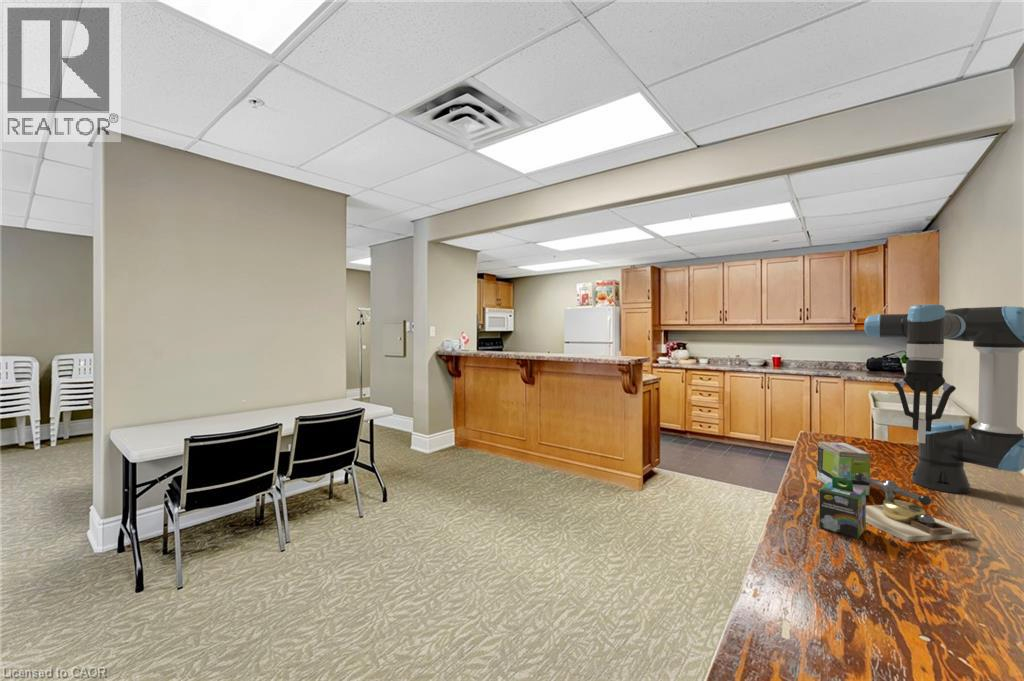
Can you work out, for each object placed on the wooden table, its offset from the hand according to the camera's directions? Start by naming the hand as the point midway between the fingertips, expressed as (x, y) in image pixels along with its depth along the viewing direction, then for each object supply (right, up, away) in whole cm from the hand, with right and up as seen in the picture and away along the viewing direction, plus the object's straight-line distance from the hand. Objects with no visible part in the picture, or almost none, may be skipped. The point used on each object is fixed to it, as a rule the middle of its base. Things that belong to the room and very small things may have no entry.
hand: (921, 442), depth 121 cm
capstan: (-2, -23, +8) cm, 24 cm away
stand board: (-2, -25, +3) cm, 25 cm away
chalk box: (-22, -25, +1) cm, 34 cm away
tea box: (+3, -24, +33) cm, 41 cm away
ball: (-1, -23, -2) cm, 23 cm away
